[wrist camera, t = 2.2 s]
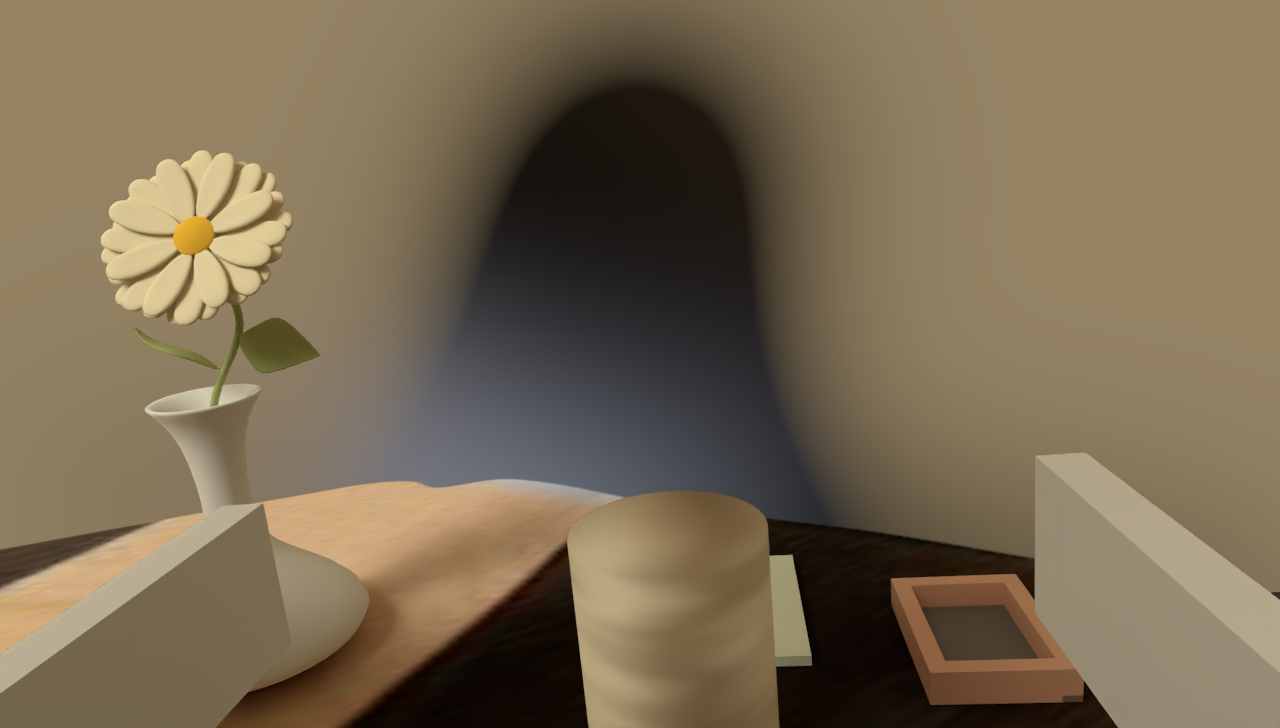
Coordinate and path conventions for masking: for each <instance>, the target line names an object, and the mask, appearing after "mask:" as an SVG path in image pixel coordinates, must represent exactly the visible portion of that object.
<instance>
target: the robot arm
mask: <svg viewBox="0 0 1280 728" xmlns="http://www.w3.org/2000/svg"><path fill="white" fill-rule="evenodd" d="M1035 613H1036V615H1037V616H1038V618H1039V619H1040V620H1041V622H1042V623H1043V624H1044V626H1045V627H1046V629H1047V630H1048V631H1049V633H1050V634H1051V635H1052V637H1053V638H1054V640H1055V641H1056V642H1057V644H1058V645H1059V647H1060V648H1061V649H1062V651H1063V652H1064V653H1065V655H1066V656H1067V658H1068V659H1069V660H1070V662H1071V663H1072V665H1073V666H1074V667H1075V669H1076V670H1077V671H1078V673H1079V674H1080V676H1081V677H1082V678H1083V680H1084V681H1085V682H1086V684H1087V685H1088V687H1089V688H1090V689H1091V691H1092V692H1093V694H1094V695H1095V696H1096V698H1097V699H1098V700H1099V702H1100V703H1101V705H1102V706H1103V707H1104V709H1105V710H1106V711H1107V713H1108V714H1109V716H1110V717H1111V718H1112V720H1113V721H1114V723H1115V724H1116V725H1117V727H1118V728H1280V592H1274V593H1270V592H1268V591H1267V590H1266V589H1265V588H1263V587H1262V586H1261V585H1259V584H1258V583H1257V582H1255V581H1254V580H1253V579H1251V578H1250V577H1249V576H1247V575H1246V574H1245V573H1243V572H1242V571H1241V570H1239V569H1238V568H1237V567H1235V566H1234V565H1233V564H1231V563H1230V562H1229V561H1228V560H1226V559H1225V558H1224V557H1222V556H1221V555H1220V554H1218V553H1217V552H1216V551H1214V550H1213V549H1212V548H1210V547H1209V546H1208V545H1206V544H1205V543H1204V542H1202V541H1201V540H1200V539H1199V538H1197V537H1196V536H1194V535H1193V534H1192V533H1191V532H1189V531H1188V530H1187V529H1185V528H1184V527H1182V526H1181V525H1180V524H1179V523H1177V522H1176V521H1175V520H1173V519H1172V518H1171V517H1170V516H1168V515H1167V514H1166V513H1164V512H1163V511H1162V510H1160V509H1159V508H1157V507H1156V506H1155V505H1154V504H1152V503H1151V502H1150V501H1148V500H1147V499H1146V498H1144V497H1143V496H1142V495H1140V494H1139V493H1138V492H1136V491H1135V490H1134V489H1132V488H1131V487H1130V486H1129V485H1127V484H1126V483H1125V482H1123V481H1122V480H1121V479H1119V478H1118V477H1117V476H1115V475H1114V474H1113V473H1111V472H1110V471H1109V470H1107V469H1106V468H1105V467H1103V466H1102V465H1101V464H1100V463H1098V462H1097V461H1096V460H1094V459H1093V458H1092V457H1090V456H1089V455H1088V454H1086V453H1073V454H1056V455H1040V456H1035ZM291 644H292V642H291V637H290V632H289V627H288V622H287V617H286V612H285V608H284V603H283V598H282V593H281V588H280V583H279V578H278V574H277V569H276V564H275V559H274V554H273V549H272V544H271V540H270V535H269V530H268V525H267V520H266V515H265V510H264V506H263V503H259V504H243V505H227V506H221V507H220V508H218V509H217V510H215V511H214V512H212V513H211V514H209V515H208V516H206V517H205V518H203V519H202V520H201V521H199V522H198V523H196V524H195V525H193V526H192V527H190V528H189V529H187V530H186V531H184V532H183V533H181V534H180V535H178V536H177V537H175V538H174V539H172V540H171V541H169V542H168V543H166V544H165V545H163V546H162V547H160V548H159V549H157V550H156V551H154V552H153V553H151V554H150V555H148V556H147V557H145V558H144V559H142V560H141V561H139V562H138V563H136V564H135V565H133V566H132V567H130V568H129V569H127V570H126V571H124V572H123V573H121V574H120V575H118V576H117V577H115V578H114V579H112V580H111V581H109V582H108V583H106V584H105V585H103V586H102V587H100V588H99V589H97V590H96V591H94V592H93V593H91V594H90V595H88V596H87V597H85V598H84V599H82V600H81V601H79V602H78V603H77V604H75V605H74V606H72V607H71V608H69V609H68V610H66V611H65V612H63V613H62V614H60V615H59V616H57V617H56V618H54V619H53V620H51V621H50V622H48V623H47V624H45V625H44V626H42V627H41V628H39V629H38V630H36V631H35V632H33V633H32V634H30V635H29V636H27V637H26V638H24V639H23V640H21V641H20V642H18V643H17V644H15V645H14V646H12V647H11V648H9V649H8V650H6V651H5V652H3V653H2V654H0V728H216V727H217V726H218V724H219V723H220V722H221V721H222V720H223V719H224V718H225V717H226V716H227V715H228V713H229V712H230V711H231V710H232V709H233V708H234V707H235V706H236V705H237V704H238V702H239V701H240V700H241V699H242V698H243V697H244V696H245V695H246V694H247V693H248V691H249V690H250V689H251V688H252V687H253V686H254V685H255V684H256V683H257V681H258V680H259V679H260V678H261V677H262V676H263V675H264V674H265V673H266V672H267V670H268V669H269V668H270V667H271V666H272V665H273V664H274V663H275V662H276V661H277V659H278V658H279V657H280V656H281V655H282V654H283V653H284V652H285V651H286V650H287V648H288V647H289V646H290V645H291Z"/></svg>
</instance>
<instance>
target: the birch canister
mask: <svg viewBox="0 0 1280 728" xmlns="http://www.w3.org/2000/svg"><path fill="white" fill-rule="evenodd" d="M567 545H568V554H569V563H570V571H571V580H572V588H573V597H574V606H575V614H576V623H577V631H578V640H579V649H580V657H581V666H582V674H583V683H584V691H585V700H586V709H587V717H588V726H589V728H779V713H778V695H777V678H776V661H775V643H774V626H773V608H772V591H771V574H770V556H769V539H768V524H767V521H766V518H765V517H764V515H763V514H762V513H761V512H760V511H759V510H758V509H757V508H755V507H754V506H752V505H751V504H749V503H747V502H745V501H742V500H740V499H737V498H734V497H730V496H727V495H722V494H717V493H710V492H701V491H666V492H656V493H648V494H642V495H637V496H632V497H628V498H624V499H620V500H617V501H614V502H611V503H608V504H606V505H603V506H601V507H599V508H597V509H595V510H593V511H591V512H589V513H588V514H586V515H585V516H583V517H582V518H581V519H580V520H578V521H577V522H576V523H575V524H574V526H573V527H572V528H571V530H570V532H569V533H568V537H567Z"/></svg>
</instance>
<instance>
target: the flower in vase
mask: <svg viewBox="0 0 1280 728" xmlns="http://www.w3.org/2000/svg"><path fill="white" fill-rule="evenodd" d="M275 187H276V177H275V176H274V175H273V174H272V173H264V174H263V172H262V169H261V167H260V166H259V165H258V164H255V163H253V164H249V165H248V164H247V163H245V162H243V161H239V162H237V163H235V160H234V158H233V156H232V155H231V154H229V153H221V154H218V155H217V156H214V157H212V156H211V154H210V153H209V152H207V151H205V150H201V151H198V152H196V153H195V154H194V155H193V156H192V158H191V160H189V161H186V162H184V163H183V164H182V165H181V166H180V165H179V164H178V163H177V162H176V161H174V160H171V159H166V160H164V161H162V162H161V163H159V165H158V166H157V170H156V176H154V177H152V178H151V179H150V180H149V181H148V180H145V179H138V180H135V181H134V182H133V183H131V185H130V186H129V195H130V197H129V198H128V199H127V200H122V201H117V202H116V203H114V204H113V205H112V206H111V208H110V210H109V216H110V218H111V219H112V220H113V221H114V223H113V228H112V229H109V230H107V231H106V232H105V233H104V234H103V236H102V237H101V244H102V245H103V247H105V249H104V250H103V252H102V254H101V259H102V261H103V262H104V263H105V264H108V266H107V268H106V274H107V276H108V279H109V281H110V282H111V283H113V284H116V285H123V286H122V287H121V288H120V289H119V290H118V292H117V293H116V297H115V299H116V302H117V303H118V304H119V305H121V306H123V307H124V308H125V309H127V310H129V311H139V310H141V309H143V310H142V312H143V315H144V316H145V317H147V318H151V319H154V318H158V317H160V316H162V315H163V314H164V313H166V312H167V319H168V321H169V322H170V323H171V324H175V325H176V324H179V325H182V326H186V325H190V324H192V323H194V322H196V320H197V319H200V320H207V319H210V318H212V317H214V316H215V315H216V313H217V312H218V309H219V307H220V306H222V305H224V304H225V303H226V302H228V303H230V304H231V305H232V307H233V311H234V314H235V321H236V328H235V335H234V338H233V342H232V344H231V347H230V349H229V352H228V354H227V357H226V359H225V361H224V363H223V366H222V368H221V370H220V372H219V375H218V378H217V380H216V383H215V386H213V387H206V388H200V389H195V390H191V391H186V392H182V393H178V394H175V395H171V396H168V397H165V398H162V399H159V400H157V401H155V402H153V403H151V404H149V405H148V406H147V407H146V408H145V411H146V412H147V413H148V414H149V415H150V416H151V417H153V418H154V419H155V420H157V421H158V422H159V423H160V424H162V425H163V426H164V427H165V428H166V429H167V430H168V431H169V432H170V434H171V435H172V436H173V438H174V439H175V440H176V442H177V443H178V445H179V446H180V448H181V450H182V452H183V454H184V456H185V458H186V460H187V462H188V464H189V467H190V469H191V472H192V475H193V477H194V480H195V483H196V486H197V489H198V493H199V497H200V501H201V504H202V510H203V516H204V518H205V517H206V516H208V515H209V514H211V513H212V512H214V511H215V510H217V509H218V508H220V507H221V506H227V505H243V504H253V501H252V497H251V493H250V487H249V481H248V474H247V462H246V432H247V427H248V422H249V417H250V414H251V412H252V409H253V406H254V404H255V402H256V400H257V399H258V397H259V395H260V393H261V387H260V386H258V385H253V384H229V385H223V384H224V382H225V379H226V376H227V374H228V372H229V369H230V367H231V365H232V362H233V360H234V358H235V355H236V353H237V350H238V348H239V345H240V347H241V350H242V351H243V353H244V355H245V356H246V357H247V359H248V360H249V362H250V363H251V364H252V366H253V367H254V368H255V369H256V370H257V371H259V372H262V373H271V372H275V371H279V370H282V369H285V368H288V367H291V366H294V365H297V364H300V363H302V362H305V361H308V360H311V359H314V358H316V357H318V356H320V354H319V353H318V352H317V350H316V349H315V348H314V347H313V346H312V345H311V344H310V343H309V342H308V341H307V340H306V339H305V338H304V337H303V336H302V335H301V334H300V333H299V332H298V331H297V330H296V329H295V328H294V327H293V326H292V325H290V324H289V323H288V322H286V321H285V320H282V319H280V318H271V319H269V320H266V321H264V322H262V323H260V324H258V325H256V326H254V327H253V328H251V329H249V330H247V331H246V332H245V333H244V334H243V326H244V325H243V324H244V322H243V314H242V311H241V307H240V304H241V303H243V302H244V301H245V300H246V299H247V298H248V296H250V295H253V294H255V293H256V292H257V291H258V290H259V289H260V287H261V285H263V284H264V283H266V282H267V281H268V279H269V278H270V275H271V272H270V269H269V267H268V266H267V264H269V263H273V262H275V261H277V260H278V259H279V258H280V257H281V255H282V252H283V247H282V245H281V244H280V243H281V242H283V240H284V239H285V238H286V234H287V231H288V230H289V229H290V228H291V227H292V223H293V218H292V216H291V214H290V213H288V212H279V211H280V210H281V208H282V207H283V205H284V196H283V194H282V193H280V192H273V191H274V189H275ZM134 328H135V330H136V333H137V334H138V336H139V337H140V338H141V339H142V341H144V342H145V343H146V344H148V345H149V346H151V347H153V348H155V349H158V350H160V351H163V352H166V353H169V354H172V355H175V356H178V357H181V358H185V359H188V360H191V361H194V362H197V363H199V364H202V365H205V366H207V367H210V368H213V369H220V368H218V367H217V366H216V365H214V364H213V363H212V362H210V361H209V360H208V359H206V358H205V357H203V356H201V355H199V354H197V353H195V352H192V351H189V350H186V349H182V348H179V347H175V346H171V345H167V344H163V343H161V342H158V341H156V340H154V339H152V338H150V337H148V336H146V335H145V334H143V333H142V332H141V331H140V330H138V329H137V328H136V327H134ZM242 334H243V335H242ZM269 535H270V534H269ZM270 540H271V544H272V549H273V554H274V559H275V564H276V569H277V574H278V578H279V583H280V588H281V593H282V598H283V603H284V608H285V612H286V617H287V622H288V627H289V632H290V637H291V642H292V644H291V645H290V646H289V647H288V648H287V650H286V651H285V652H284V653H283V654H282V655H281V656H280V657H279V658H278V659H277V661H276V662H275V663H274V664H273V665H272V666H271V667H270V668H269V669H268V670H267V672H266V673H265V674H264V675H263V676H262V677H261V678H260V679H259V680H258V681H257V683H256V684H255V685H254V686H253V687H252V688H251V689H250V690H249V691H248V692H251V691H254V690H257V689H261V688H264V687H267V686H270V685H273V684H275V683H278V682H281V681H283V680H286V679H288V678H290V677H292V676H295V675H297V674H299V673H301V672H303V671H305V670H307V669H309V668H311V667H313V666H314V665H316V664H318V663H319V662H321V661H323V660H324V659H326V658H327V657H329V656H330V655H332V654H333V653H334V652H336V651H337V650H338V649H339V648H341V647H342V646H343V645H344V644H345V643H346V642H347V641H348V640H349V639H350V638H351V637H352V636H353V635H354V633H355V632H356V631H357V630H358V628H359V626H360V624H361V622H362V620H363V618H364V616H365V614H366V612H367V610H368V606H369V595H368V592H367V590H366V588H365V587H364V585H363V584H362V582H361V581H360V579H359V578H358V577H357V575H356V574H354V573H353V572H352V571H350V570H349V569H347V568H345V567H343V566H342V565H340V564H338V563H336V562H334V561H332V560H330V559H328V558H325V557H323V556H320V555H318V554H315V553H312V552H310V551H307V550H304V549H301V548H298V547H295V546H292V545H290V544H287V543H285V542H283V541H280V540H278V539H276V538H275V537H273V536H272V535H270Z"/></svg>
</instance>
